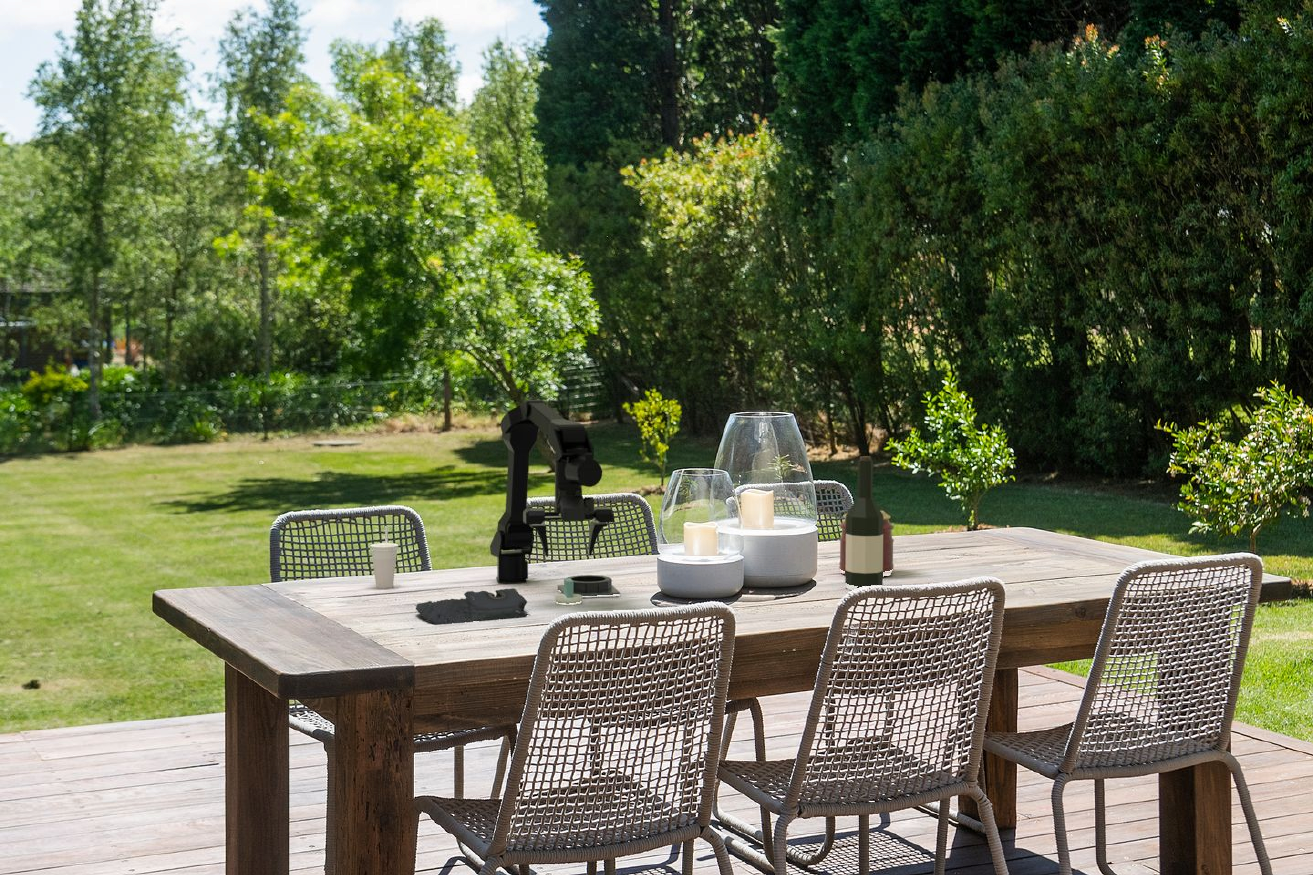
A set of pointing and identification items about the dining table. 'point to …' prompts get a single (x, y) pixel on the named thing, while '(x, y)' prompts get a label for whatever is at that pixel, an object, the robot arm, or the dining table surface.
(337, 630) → the dining table surface
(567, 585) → the cap
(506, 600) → the dark slate chunk
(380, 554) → the smoothie
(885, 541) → the canister
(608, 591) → the square ring flange
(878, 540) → the wine bottle
